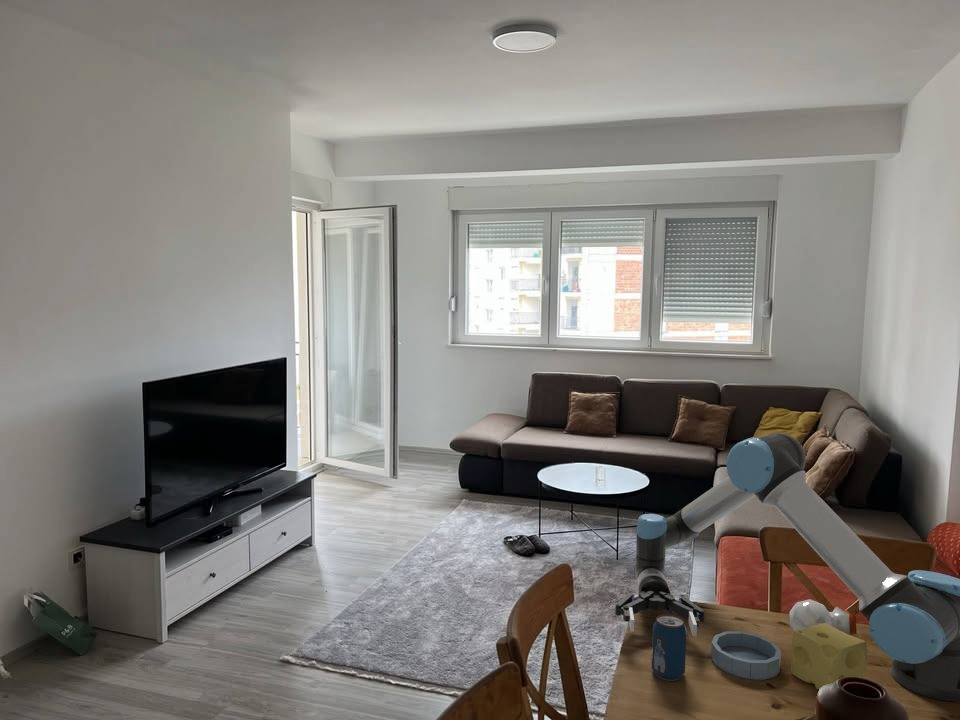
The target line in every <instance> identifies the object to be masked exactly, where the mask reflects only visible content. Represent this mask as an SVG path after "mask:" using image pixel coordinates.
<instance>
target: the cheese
mask: <svg viewBox="0 0 960 720" xmlns="http://www.w3.org/2000/svg"><path fill="white" fill-rule="evenodd" d="M791 639H792V640H791V656H790V659H791V660H790V667H791V668H790V670H791V671H790V672H791V673H790V674H792V675H793V676H795V677H796V678H798V679H800V680H802V681H803V682H805V683H808V684H813V685H814V687H815V689H817V690H818V689H819V688H820V687H822V686H823V685H826V684H830V683H833V682H835V681H836V680H838V679H840V678H843V677H860V678H863V679H864V675H865V671H866V665H867V659H868V658H867V642H866V641H865V640H863V639H862V638H858V637H856V636H853V635H849V634H846V633H844V632H842V631H840V630H838V629H836V628H834V627H832V626H830V625H828V624H826V623H823V624H818V625H815V626H812V627H808V628H804V629H799V630H794V631H793V630H792V638H791Z"/></svg>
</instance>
